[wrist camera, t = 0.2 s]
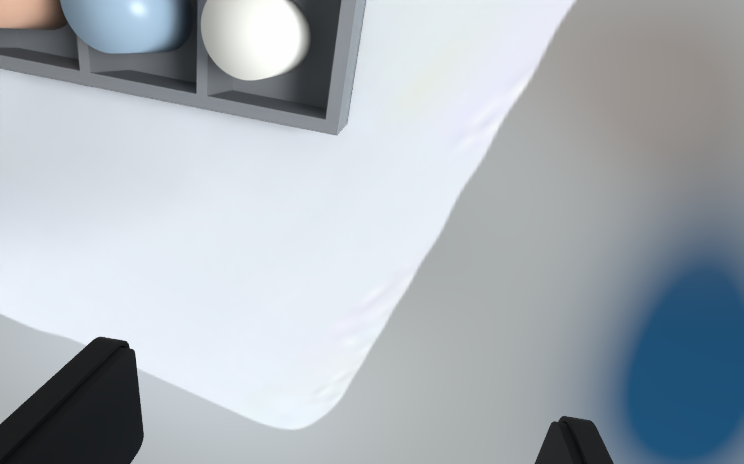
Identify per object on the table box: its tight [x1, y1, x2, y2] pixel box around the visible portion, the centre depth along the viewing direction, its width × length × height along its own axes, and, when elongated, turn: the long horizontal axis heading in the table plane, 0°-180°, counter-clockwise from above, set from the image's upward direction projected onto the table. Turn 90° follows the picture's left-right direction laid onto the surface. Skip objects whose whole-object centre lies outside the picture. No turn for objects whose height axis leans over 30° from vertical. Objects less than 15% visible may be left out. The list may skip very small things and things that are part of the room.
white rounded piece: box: [201, 0, 311, 80], centre depth 29 cm, size 6×6×6 cm
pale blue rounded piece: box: [60, 0, 193, 54], centre depth 30 cm, size 6×6×6 cm
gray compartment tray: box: [0, 0, 366, 135], centre depth 33 cm, size 12×30×6 cm, turn 80°
